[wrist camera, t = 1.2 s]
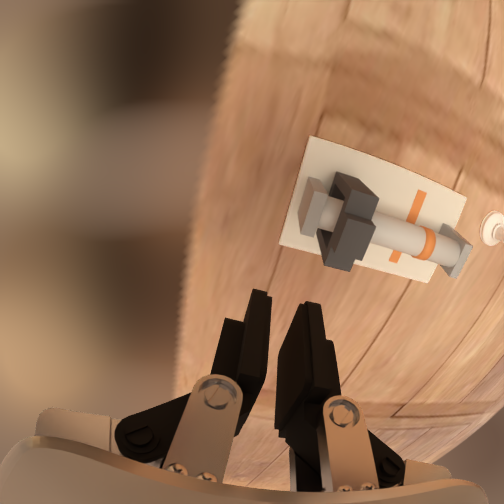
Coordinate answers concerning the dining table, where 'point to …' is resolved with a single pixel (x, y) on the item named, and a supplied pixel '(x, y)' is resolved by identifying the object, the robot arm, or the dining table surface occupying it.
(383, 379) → the dining table surface
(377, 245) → the rail
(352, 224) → the dark grey notched block
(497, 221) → the chess piece
